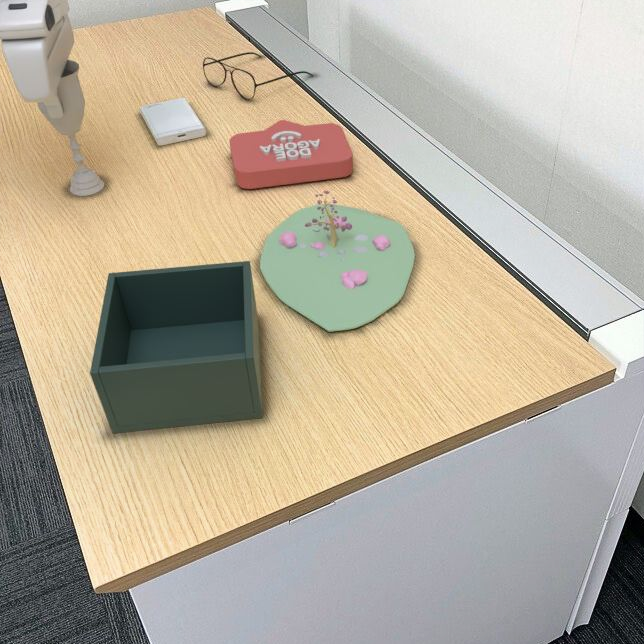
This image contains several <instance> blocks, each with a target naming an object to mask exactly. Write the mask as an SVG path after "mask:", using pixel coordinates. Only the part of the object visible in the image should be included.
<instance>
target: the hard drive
mask: <svg viewBox="0 0 644 644" xmlns="http://www.w3.org/2000/svg"><path fill="white" fill-rule="evenodd" d="M139 112H140V115H141V117H142V118H143V121H144V122H145V124H146V126H147V128H148V129H149V132H150V134H151V135H152V137H153V139H154V140H155V142H156V144H157V146H160V147H161V146H167V145H171V144H175V143H180V142H184V141H190V140H194V139H198V138H202V137H206V136H207V130H206V127H205V126H204V124H203V123H202V121H201V120H200V118H199V117H198V115H197V114H196V112H195V110H194V109H193V107H192V106H191V105H190V103H189V101H188V100H187V99H186V97H179V98H178V97H177V98H175V99H174V98H173V99H169V100H165V101H160V102H155V103H151V104H146V105H145V104H144V105H142V106H140V107H139Z"/></svg>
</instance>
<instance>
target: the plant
mask: <svg viewBox="0 0 644 644" xmlns="http://www.w3.org/2000/svg"><path fill="white" fill-rule="evenodd" d="M323 193H324V194H325V195H329V194H330V192H329V191H328V190H323ZM323 193H319V194H314V196H315V197H316V198H319V199H318V200H317V201H316V203H317V204H314V205H310V206H307V207H303V208H300V209H298V210H296V211H294V212H293V213H292V214H290V215H289V216H288V217H286V218H285V219H284V220H283V221H282V222H281V223H279V225H277V226H276V227H275V228H274V229H273V230H272V231H271V232H270V233H269V234H268V235H267V237H266V239H265V242H264V245H263V248H262V252H261V255H260V259H259V268H260V272H261V274H262V276H263V278H264V281H265V282H266V284H267V285H268V287H269V288H270V290H271V291H272V293H274V294H275V295H276V297H277V298H278V299H279V300H280V301H281V302H282V303H283V304H285V306H287V307H289V308H290V309H293V310H294V311H296V312H297V313H299V314H300V315H301V316H303V317H305V319H308V320H309V321H311V322H313V323H314V324H316V325H318V326H319V327H321V328H322V329H324V331H327V332H329V333H331V332H339V331H347V330H353V329H356V328H360V327H362V326H365V325H366V324H369V323H371V322H373V321H374V320H376V319H377V318H378V317H380V316H381V315H383V314H384V313H386V312H387V311H389V310H390V309H391V308H393V307H394V306H396V305H397V304H399V302H400V301H401V300H402V298H403V297H404V295H405V293H406V289H407V286H408V283H409V281H410V278H411V275H412V272H413V269H414V265H415V258H416V253H415V249H414V246H413V243H412V241H411V238H410V236H409V235H408V232H407V230H406V228H405V227H404V225H402V224H401V223H400V222H399V221H395V220H393V219H390V218H387V217H384V216H382V215H379V214H376V213H372V212H370V211H367V210H365V209H361V208H358V207H351V206H347V205H340V204H337V203H338V201H337V200H335V199H336V198H335V197H332V201H329V202H328V201H327V196H325V197H324V194H323ZM323 197H324V201H322V199H323ZM327 202H328V203H327Z"/></svg>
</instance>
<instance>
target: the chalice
mask: <svg viewBox="0 0 644 644" xmlns="http://www.w3.org/2000/svg"><path fill="white" fill-rule="evenodd" d="M79 70H80V64H79V63H78V62H76V61H74V60H71V59H68V61H67V63H66V66H65V68H64V71H63V74H62V76H61V79H60V82H59V84H58V87H57V95H58V98H59V100H60V101H62V104H63V108H64V114H63V117H62V118H51V117H50V116H49V113H48V110H47V107H46V106H45V104H44V103H43V102H36V104H37V107H38V110H39V111H40V112H41V113H42V115H43V116H44V119H46V120H47V121H48V122H49V124H50V125H51V126H52V127H53V128H54V129H55V130H56V131H57V132H58V133H59V134H60V135H61V136H66V137H67V139H68V140H69V146H68V149H70V150H71V151H72V153H73V155H72V158H71V160H72V161H74V162H75V164H76V166H77V169H76V170H75V171H74V172H73V173H72V175H71V180H70V187H69V192H70V193H71V194H72V195H74V196H79V197H87V196H91V195H95V194H98V193H99V192H101V191H102V190H103V189H104V188H105V182H104V181H103V180H102V179H101V177H100V176H99V175H98V174H97V172H96V171H95V170H93V169H91V168H88V167H86V165H85V164H84V160H85V155H84V154H82V153H81V151H80V150H81V144H80V143H79V142H78V139H77V137H76V135H77V134H78V133H79V132H81V129H82V125H83V120H84V115H85V106H86V100H85V97H84V93H83V90H82V85H81V82H80V79H79V75H78V74H79Z"/></svg>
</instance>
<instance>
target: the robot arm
mask: <svg viewBox="0 0 644 644" xmlns="http://www.w3.org/2000/svg"><path fill="white" fill-rule="evenodd" d="M69 12H70V4H69V1H68V0H0V40H1V41H0V43H1V50H2V54H3V57H4V60H5V62H6V65H7V68H8V71H9V73H10V76H11V78H12V80H13V82H14V85H15V87H16V90H17V92H18V93H19V96H20V97H21V98H22V99H23V100H24V101H25V102H26V103H37V102H43V103H44V104H45V106H46V107H47V110H48V113H49V116H50V117H51V118H62V117H63V114H64V108H63V104H62V101H60V100H59V98H58V95H57V87H58V84H59V82H60V79H61V76H62V74H63V71H64V68H65V66H66V63H67V61H68V60H69V58H70V55H71V53H72V50H73V48H74V45H75V36H74V31H73V27H72V23H71V21H70V18H69V15H68V13H69Z"/></svg>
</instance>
